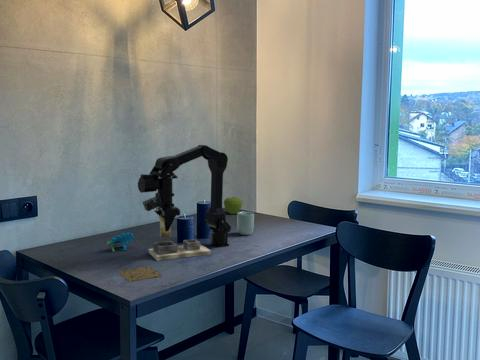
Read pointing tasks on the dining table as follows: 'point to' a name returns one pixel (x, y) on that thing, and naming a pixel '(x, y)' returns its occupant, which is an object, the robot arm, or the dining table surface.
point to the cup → (245, 222)
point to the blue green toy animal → (120, 241)
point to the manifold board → (177, 250)
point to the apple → (233, 205)
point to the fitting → (163, 229)
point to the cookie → (140, 274)
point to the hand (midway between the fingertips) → (165, 229)
